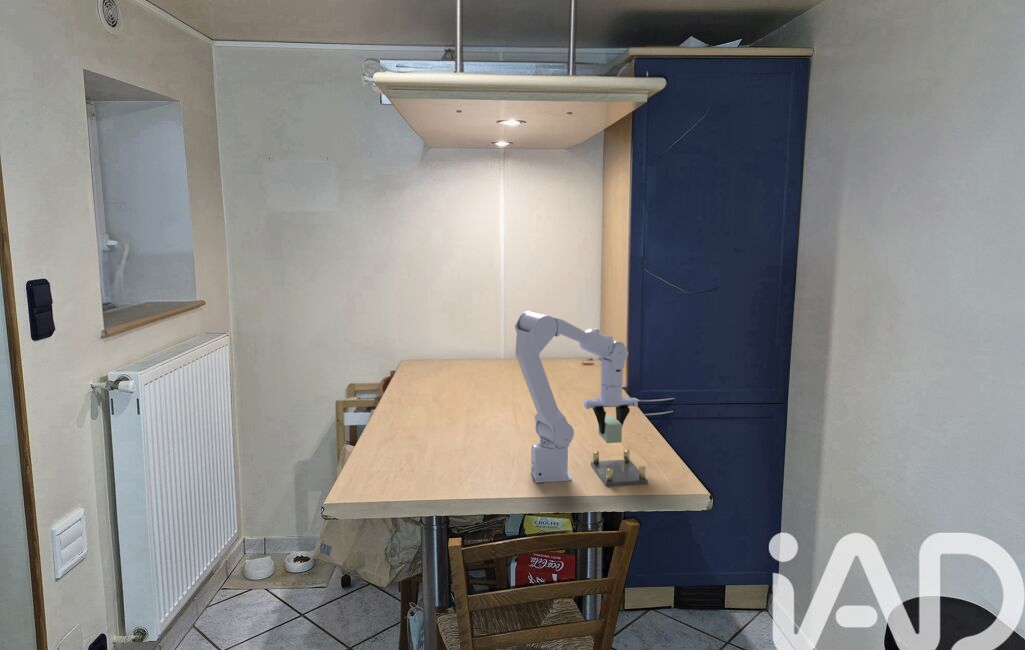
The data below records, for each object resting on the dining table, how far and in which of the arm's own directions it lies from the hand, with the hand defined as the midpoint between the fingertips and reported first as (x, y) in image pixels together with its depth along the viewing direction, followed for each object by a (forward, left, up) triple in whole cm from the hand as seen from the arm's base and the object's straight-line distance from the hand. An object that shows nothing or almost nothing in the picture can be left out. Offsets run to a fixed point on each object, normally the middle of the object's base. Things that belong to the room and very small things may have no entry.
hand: (610, 432), depth 190 cm
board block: (0, 0, -2) cm, 2 cm away
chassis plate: (0, -8, -9) cm, 12 cm away
